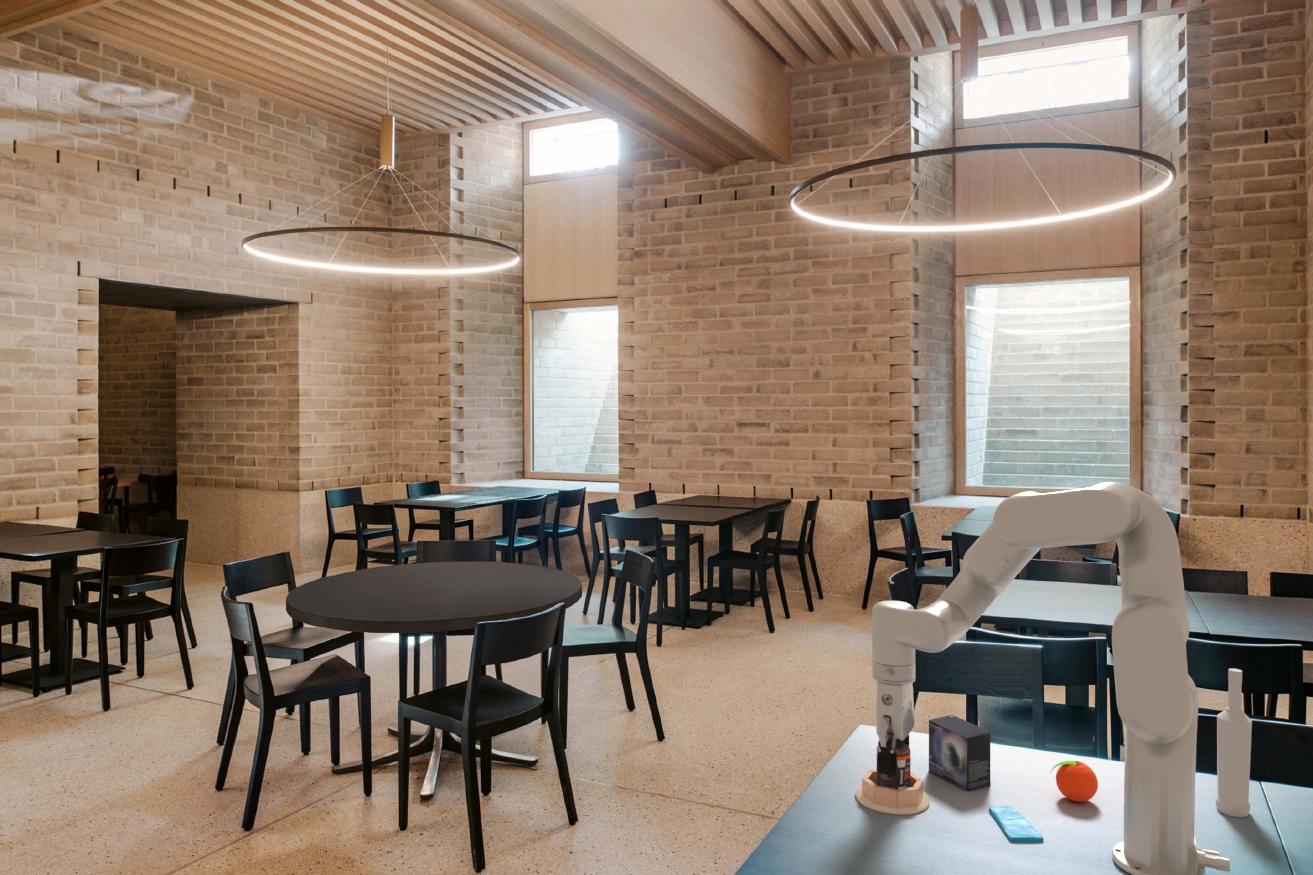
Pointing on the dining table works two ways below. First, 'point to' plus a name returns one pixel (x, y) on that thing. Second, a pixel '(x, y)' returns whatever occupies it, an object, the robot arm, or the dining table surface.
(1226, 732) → the bottle
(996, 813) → the sponge
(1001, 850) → the dining table surface
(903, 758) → the supplement bottle
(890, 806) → the cup holder
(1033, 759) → the dining table surface
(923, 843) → the dining table surface
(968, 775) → the small box
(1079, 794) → the clementine
